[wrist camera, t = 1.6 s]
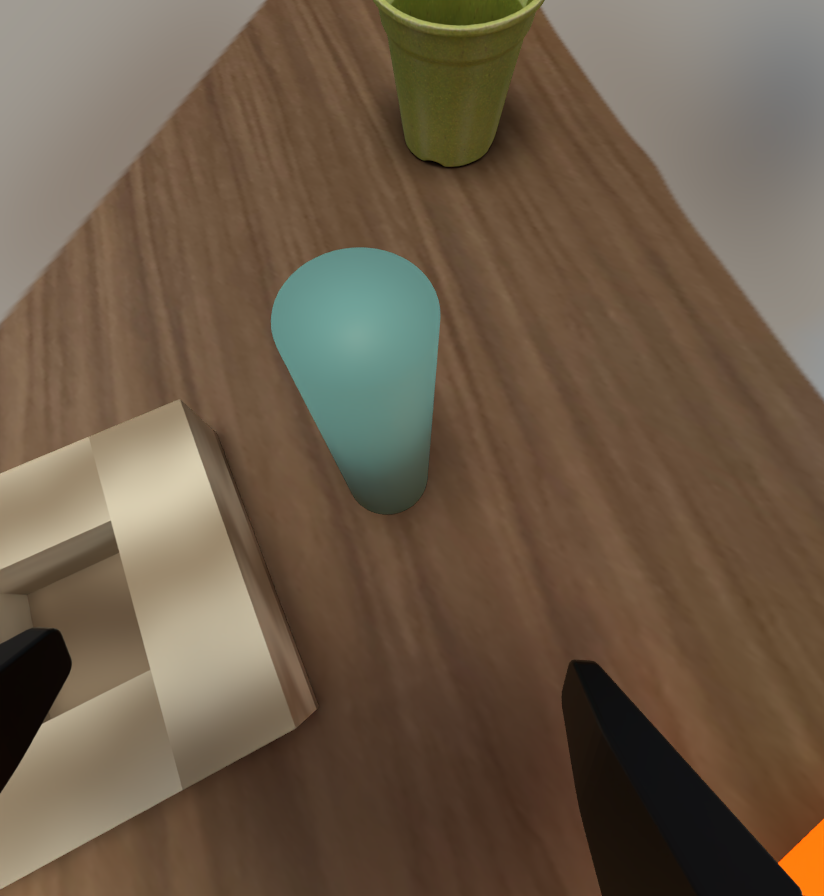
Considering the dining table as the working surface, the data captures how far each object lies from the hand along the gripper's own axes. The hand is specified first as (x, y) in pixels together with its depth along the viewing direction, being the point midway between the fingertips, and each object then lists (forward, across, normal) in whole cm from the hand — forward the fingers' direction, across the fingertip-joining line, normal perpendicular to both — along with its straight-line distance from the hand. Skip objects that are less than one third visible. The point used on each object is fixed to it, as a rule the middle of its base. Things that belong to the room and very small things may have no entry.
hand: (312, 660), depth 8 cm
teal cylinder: (+15, 0, +4) cm, 15 cm away
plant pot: (+32, -2, -13) cm, 35 cm away
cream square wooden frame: (+9, +12, +10) cm, 18 cm away
